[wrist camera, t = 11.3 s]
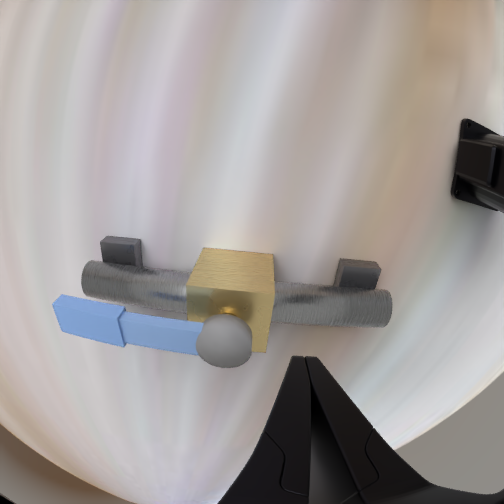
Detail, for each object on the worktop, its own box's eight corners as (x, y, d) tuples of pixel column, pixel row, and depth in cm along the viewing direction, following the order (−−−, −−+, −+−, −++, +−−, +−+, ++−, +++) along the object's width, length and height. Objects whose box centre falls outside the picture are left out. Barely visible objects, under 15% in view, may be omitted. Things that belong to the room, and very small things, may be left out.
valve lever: (254, 316, 15) (253, 331, 14) (250, 355, 16) (249, 370, 15) (60, 289, 15) (50, 299, 14) (71, 325, 16) (63, 335, 15)
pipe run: (381, 262, 20) (414, 308, 15) (364, 314, 22) (386, 366, 17) (102, 235, 20) (58, 272, 15) (110, 288, 22) (75, 332, 17)
